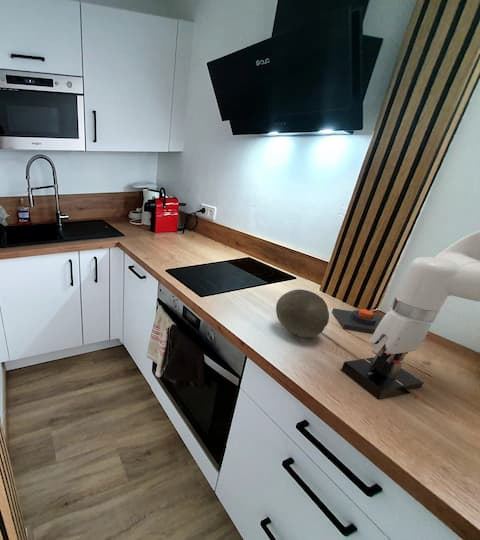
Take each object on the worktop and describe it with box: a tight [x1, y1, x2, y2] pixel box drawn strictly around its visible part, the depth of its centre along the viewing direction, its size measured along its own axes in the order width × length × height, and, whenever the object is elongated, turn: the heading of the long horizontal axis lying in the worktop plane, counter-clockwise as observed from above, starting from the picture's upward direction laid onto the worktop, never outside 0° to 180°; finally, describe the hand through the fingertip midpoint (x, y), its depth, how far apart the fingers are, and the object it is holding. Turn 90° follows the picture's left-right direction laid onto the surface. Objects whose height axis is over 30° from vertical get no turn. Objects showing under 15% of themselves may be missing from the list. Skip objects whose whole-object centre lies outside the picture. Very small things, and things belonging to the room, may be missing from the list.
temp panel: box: [340, 356, 425, 400], centre depth 74 cm, size 13×10×3 cm
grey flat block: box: [331, 307, 383, 335], centre depth 96 cm, size 14×11×5 cm
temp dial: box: [371, 354, 403, 379], centre depth 73 cm, size 5×2×5 cm, turn 12°
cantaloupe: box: [275, 288, 330, 338], centre depth 90 cm, size 14×14×15 cm
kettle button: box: [358, 308, 374, 319], centre depth 95 cm, size 4×4×2 cm
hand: (382, 370), depth 73 cm, fingers closed
